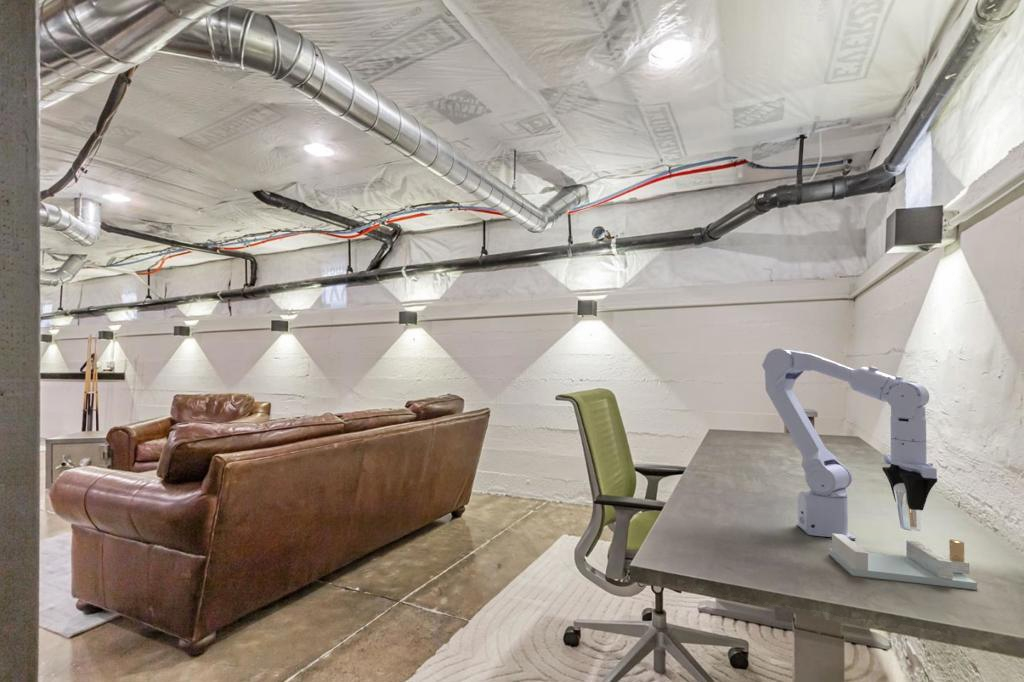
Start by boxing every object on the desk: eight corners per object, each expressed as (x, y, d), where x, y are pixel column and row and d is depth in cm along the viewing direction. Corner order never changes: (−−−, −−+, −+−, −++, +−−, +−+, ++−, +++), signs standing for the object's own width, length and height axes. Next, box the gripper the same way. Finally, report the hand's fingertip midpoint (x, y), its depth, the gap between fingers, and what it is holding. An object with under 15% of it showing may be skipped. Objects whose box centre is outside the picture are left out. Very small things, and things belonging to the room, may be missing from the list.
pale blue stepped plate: (852, 575, 87) (852, 551, 87) (829, 554, 96) (829, 533, 96) (976, 589, 82) (976, 564, 82) (939, 566, 92) (939, 543, 92)
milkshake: (925, 535, 94) (921, 483, 95) (892, 528, 98) (889, 479, 99) (933, 530, 96) (929, 480, 97) (901, 523, 101) (897, 476, 101)
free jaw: (939, 578, 84) (939, 547, 84) (906, 556, 93) (906, 529, 94) (983, 583, 82) (983, 552, 82) (945, 560, 92) (945, 532, 92)
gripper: (954, 446, 91) (955, 518, 90) (909, 436, 105) (910, 498, 104) (912, 444, 92) (912, 515, 92) (873, 434, 106) (873, 495, 106)
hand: (908, 506), depth 98 cm, fingers closed on milkshake, 4 cm apart
